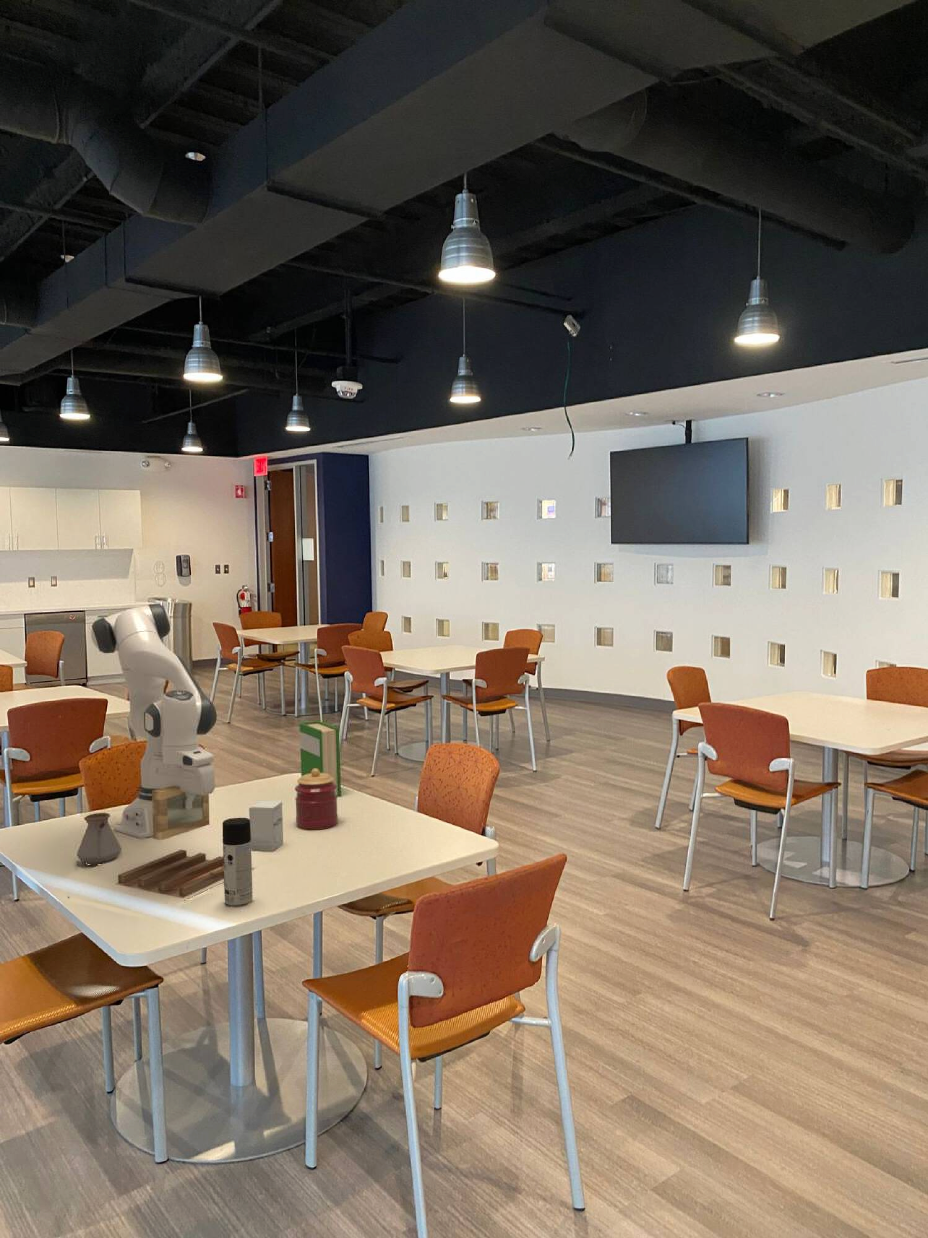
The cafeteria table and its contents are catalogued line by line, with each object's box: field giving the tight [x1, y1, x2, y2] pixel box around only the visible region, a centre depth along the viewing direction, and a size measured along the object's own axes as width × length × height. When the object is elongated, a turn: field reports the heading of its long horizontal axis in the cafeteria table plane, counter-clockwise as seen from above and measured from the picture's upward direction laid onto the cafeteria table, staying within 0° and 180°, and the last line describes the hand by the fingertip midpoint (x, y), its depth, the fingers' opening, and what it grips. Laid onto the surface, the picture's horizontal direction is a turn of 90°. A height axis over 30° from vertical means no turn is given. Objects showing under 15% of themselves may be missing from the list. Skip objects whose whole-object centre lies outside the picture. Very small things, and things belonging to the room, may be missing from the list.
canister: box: [294, 768, 339, 831], centre depth 284 cm, size 13×13×18 cm
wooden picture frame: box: [152, 786, 210, 841], centre depth 234 cm, size 3×16×12 cm, turn 150°
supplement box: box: [248, 800, 284, 852], centre depth 263 cm, size 7×7×13 cm
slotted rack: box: [115, 849, 224, 902], centre depth 238 cm, size 23×24×4 cm
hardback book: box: [299, 720, 342, 798], centre depth 322 cm, size 18×7×24 cm, turn 32°
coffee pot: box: [76, 812, 122, 865], centre depth 249 cm, size 21×12×15 cm, turn 27°
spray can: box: [222, 817, 253, 907], centre depth 221 cm, size 7×7×20 cm
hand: (182, 808), depth 234 cm, fingers closed on wooden picture frame, 3 cm apart
